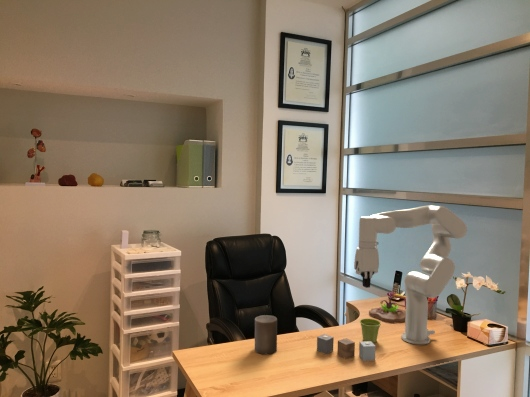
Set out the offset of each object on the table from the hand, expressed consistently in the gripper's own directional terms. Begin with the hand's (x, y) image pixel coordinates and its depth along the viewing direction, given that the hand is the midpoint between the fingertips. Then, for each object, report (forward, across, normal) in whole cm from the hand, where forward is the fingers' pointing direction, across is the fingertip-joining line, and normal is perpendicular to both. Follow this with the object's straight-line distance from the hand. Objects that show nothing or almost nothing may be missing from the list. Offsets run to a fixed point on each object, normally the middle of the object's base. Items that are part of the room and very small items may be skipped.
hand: (366, 286), depth 181 cm
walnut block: (+27, +12, +4) cm, 30 cm away
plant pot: (+27, -7, -6) cm, 29 cm away
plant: (+28, -38, -31) cm, 56 cm away
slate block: (+27, +5, +9) cm, 29 cm away
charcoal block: (+27, +18, -3) cm, 33 cm away
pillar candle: (+27, +42, -12) cm, 52 cm away
